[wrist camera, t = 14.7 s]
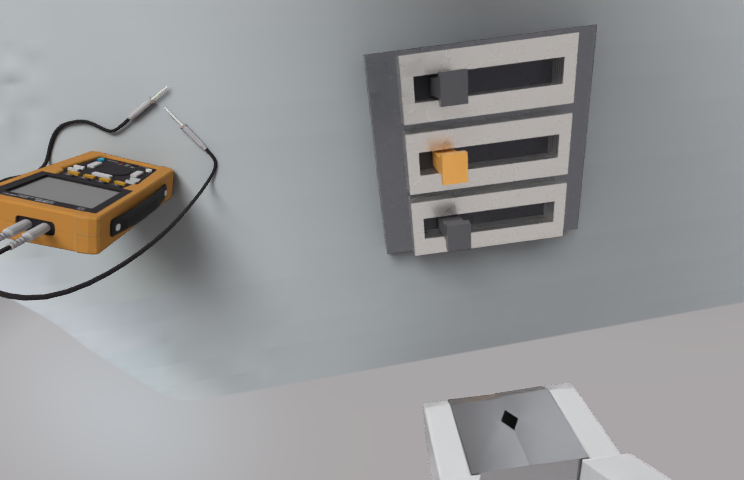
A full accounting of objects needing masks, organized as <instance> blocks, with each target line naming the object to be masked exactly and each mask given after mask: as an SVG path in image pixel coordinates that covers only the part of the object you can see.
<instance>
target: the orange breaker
mask: <svg viewBox="0 0 744 480" xmlns="http://www.w3.org/2000/svg"><path fill="white" fill-rule="evenodd" d="M432 158H433V166H434V167H435V169H436V170H437V171H438V172H439V173H440V175H441V183H442V184H443V185H450V184H458V183H465V182H468V152H467V151H465V150H463V151H456V150H455V149H454V148H451V149H444V150H436V151H432Z"/></svg>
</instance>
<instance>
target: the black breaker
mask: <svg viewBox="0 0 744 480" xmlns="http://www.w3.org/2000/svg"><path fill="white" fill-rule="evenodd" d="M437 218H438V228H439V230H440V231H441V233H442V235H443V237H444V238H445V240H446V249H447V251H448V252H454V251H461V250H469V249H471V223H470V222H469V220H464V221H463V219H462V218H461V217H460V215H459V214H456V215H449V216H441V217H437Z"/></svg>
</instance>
